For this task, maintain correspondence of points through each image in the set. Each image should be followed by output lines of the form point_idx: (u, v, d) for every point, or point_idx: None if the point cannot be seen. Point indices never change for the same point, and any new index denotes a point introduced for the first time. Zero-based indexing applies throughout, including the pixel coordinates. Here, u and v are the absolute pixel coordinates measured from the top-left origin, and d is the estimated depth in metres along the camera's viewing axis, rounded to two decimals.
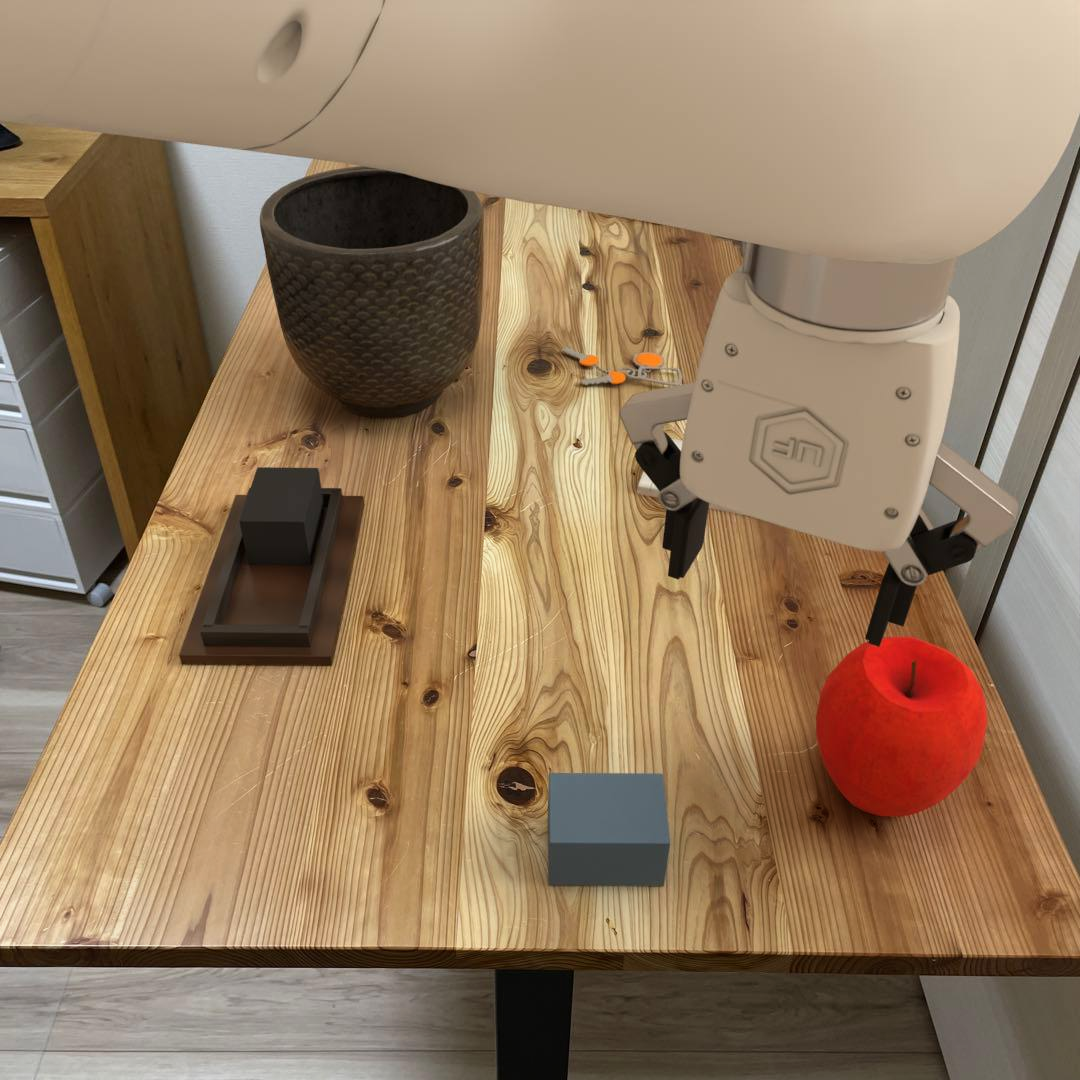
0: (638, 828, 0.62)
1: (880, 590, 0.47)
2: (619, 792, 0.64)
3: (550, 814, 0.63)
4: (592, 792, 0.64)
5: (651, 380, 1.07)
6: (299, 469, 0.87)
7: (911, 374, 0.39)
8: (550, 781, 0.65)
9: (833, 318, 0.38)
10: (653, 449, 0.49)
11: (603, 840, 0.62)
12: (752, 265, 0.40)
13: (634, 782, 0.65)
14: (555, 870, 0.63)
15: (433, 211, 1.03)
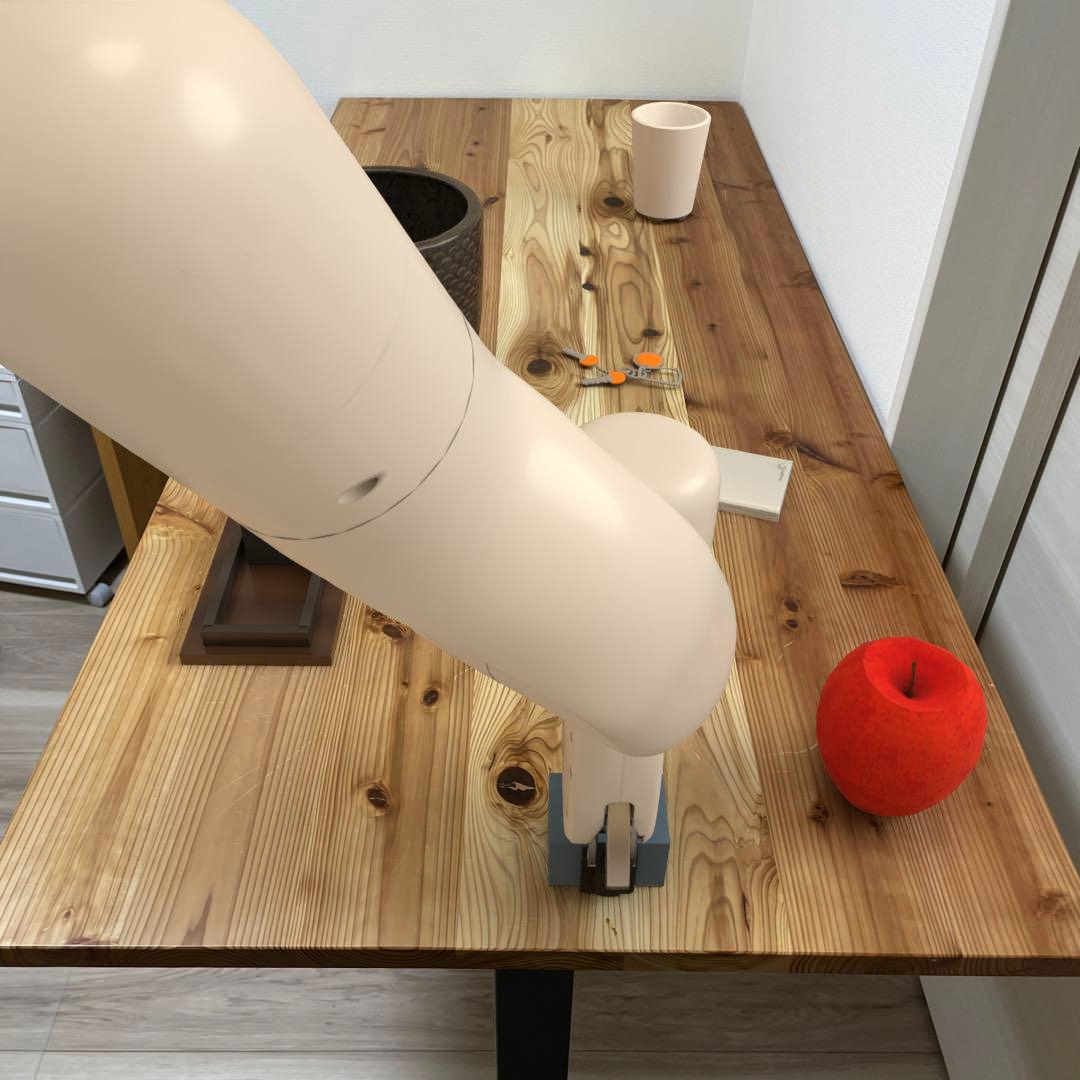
0: None
1: None
2: None
3: (550, 814, 0.63)
4: None
5: (651, 380, 1.07)
6: None
7: (573, 727, 0.54)
8: (550, 781, 0.65)
9: None
10: None
11: (603, 840, 0.62)
12: None
13: None
14: (555, 870, 0.63)
15: (433, 211, 1.03)
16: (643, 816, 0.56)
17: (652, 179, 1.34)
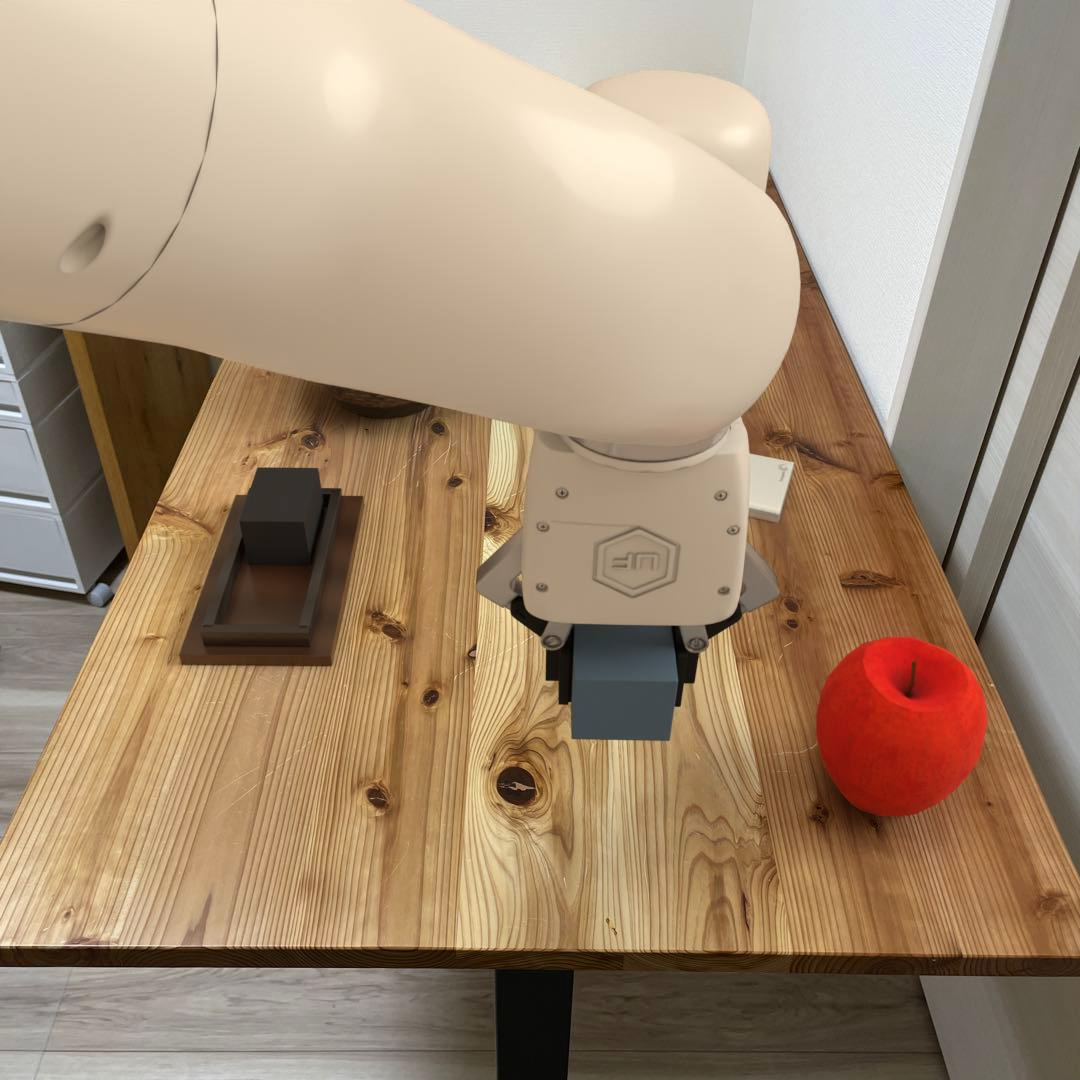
0: None
1: None
2: None
3: (637, 679, 0.51)
4: (603, 641, 0.53)
5: None
6: (299, 469, 0.87)
7: (725, 479, 0.45)
8: (588, 678, 0.51)
9: (660, 454, 0.42)
10: None
11: (669, 634, 0.54)
12: None
13: None
14: None
15: None
16: None
17: None
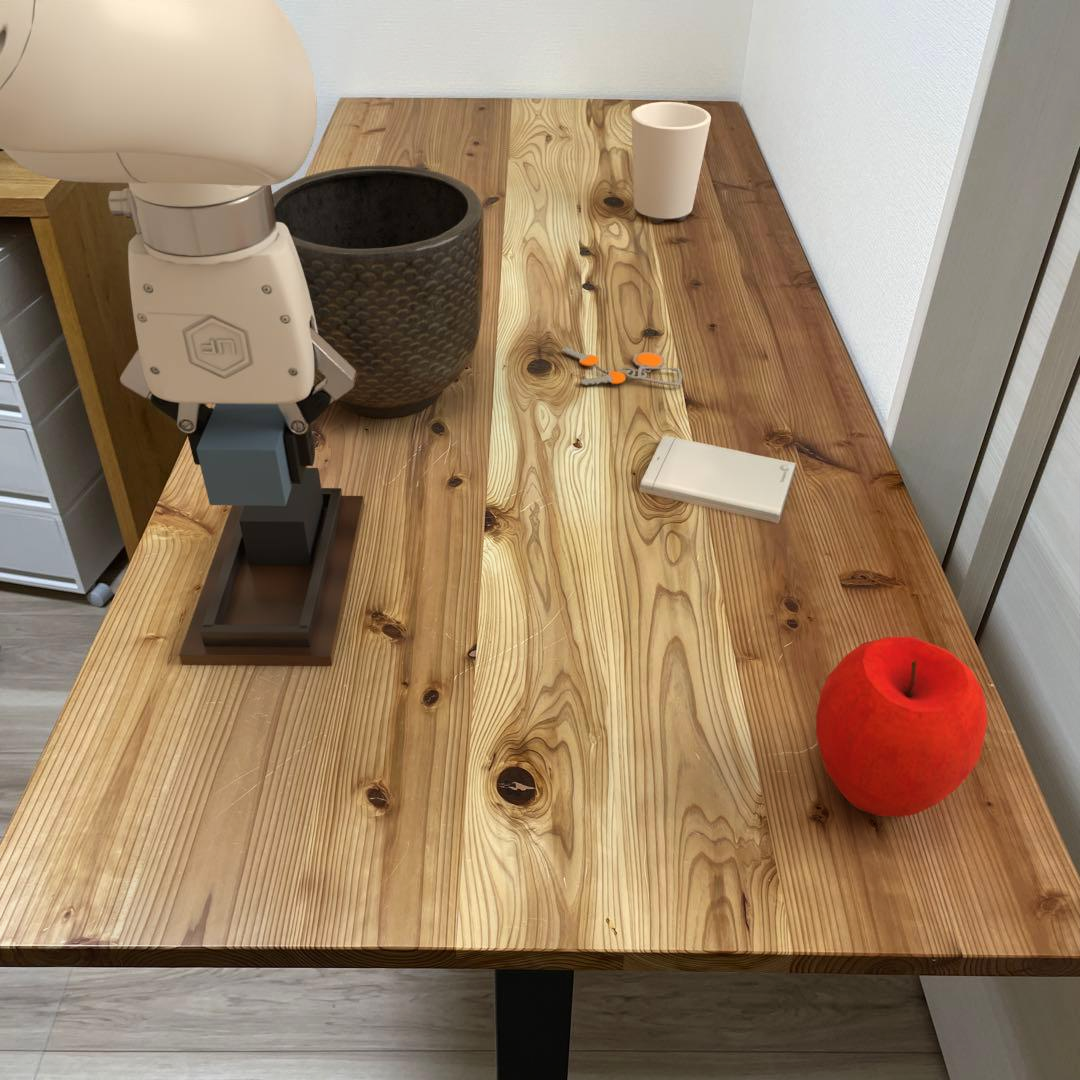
0: (275, 404, 0.71)
1: (284, 443, 0.69)
2: (234, 411, 0.70)
3: (245, 449, 0.67)
4: (228, 425, 0.69)
5: (651, 380, 1.07)
6: None
7: (266, 276, 0.60)
8: (207, 448, 0.67)
9: (200, 249, 0.58)
10: None
11: (282, 421, 0.69)
12: (140, 227, 0.59)
13: None
14: (283, 482, 0.69)
15: (433, 211, 1.03)
16: (315, 326, 0.66)
17: (652, 179, 1.34)
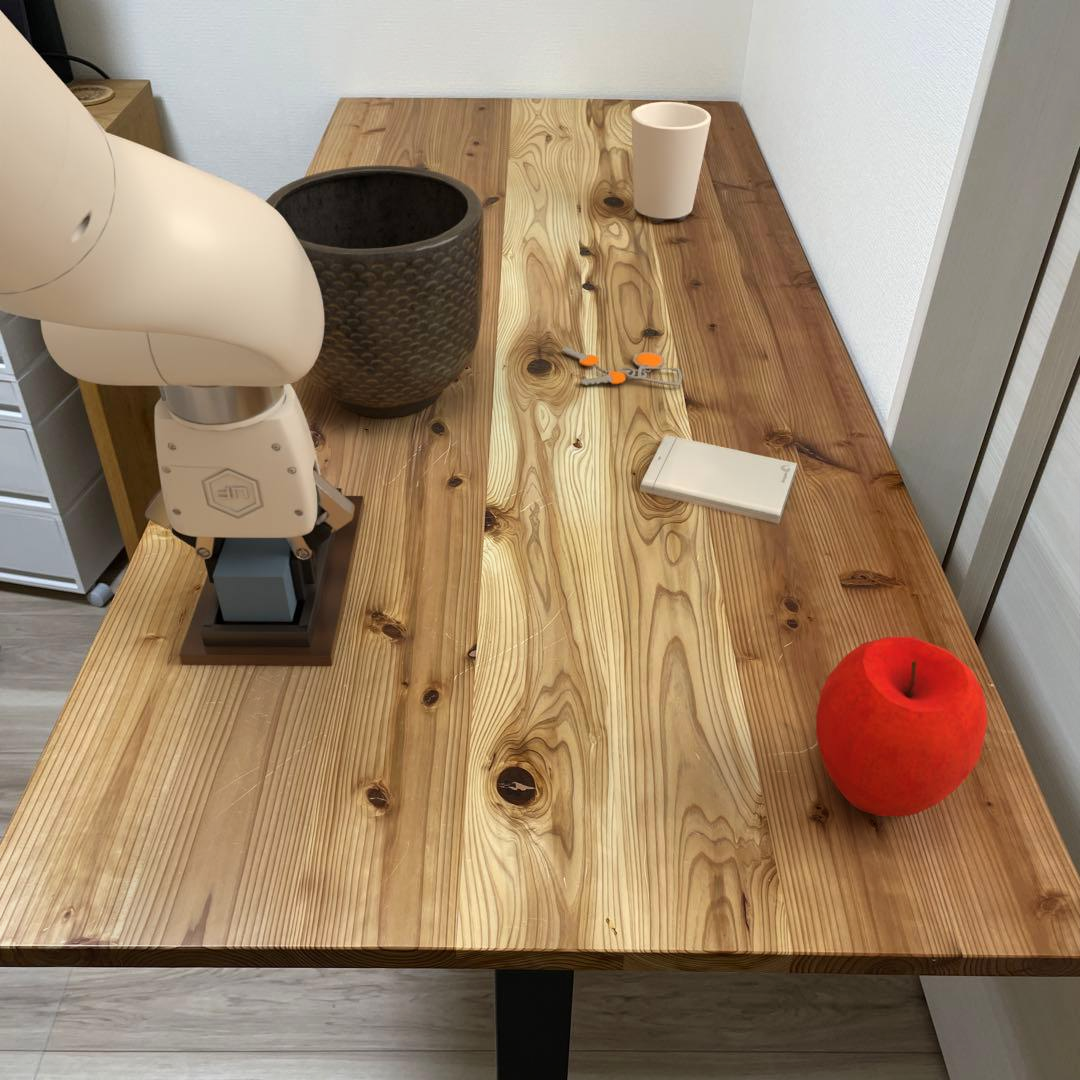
0: None
1: (290, 567, 0.77)
2: None
3: (256, 575, 0.75)
4: (241, 552, 0.77)
5: (651, 380, 1.07)
6: None
7: (275, 436, 0.69)
8: (222, 575, 0.75)
9: (218, 419, 0.66)
10: None
11: (288, 547, 0.78)
12: (165, 397, 0.67)
13: None
14: (290, 601, 0.77)
15: (433, 211, 1.03)
16: (318, 467, 0.75)
17: (652, 179, 1.34)
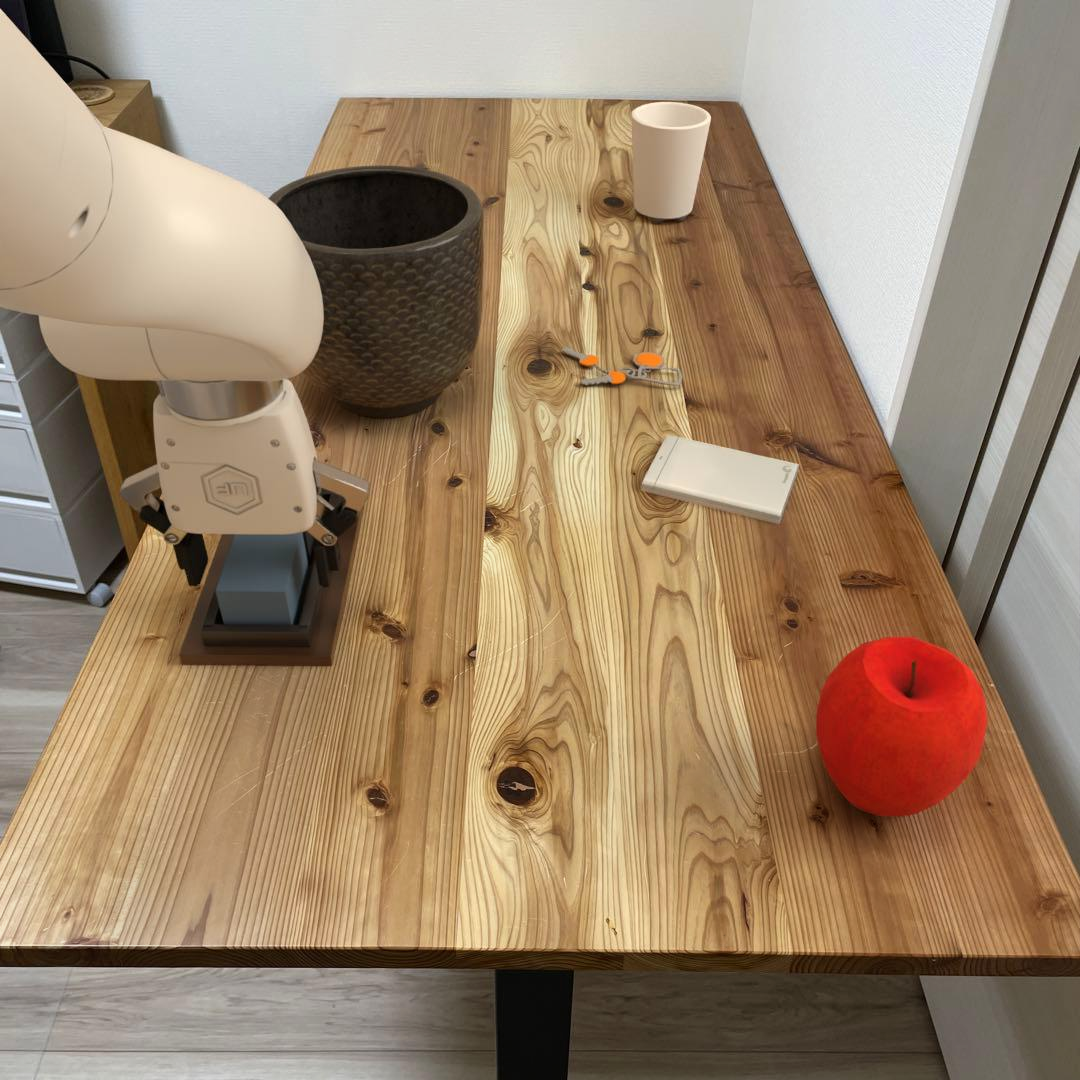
0: (284, 544, 0.80)
1: (315, 554, 0.77)
2: (248, 551, 0.79)
3: (258, 590, 0.76)
4: (243, 566, 0.78)
5: (651, 380, 1.07)
6: None
7: (274, 432, 0.69)
8: (225, 589, 0.76)
9: (217, 415, 0.66)
10: (150, 510, 0.75)
11: (290, 562, 0.78)
12: (164, 393, 0.67)
13: (241, 543, 0.80)
14: (292, 615, 0.78)
15: (433, 211, 1.03)
16: None
17: (652, 179, 1.34)
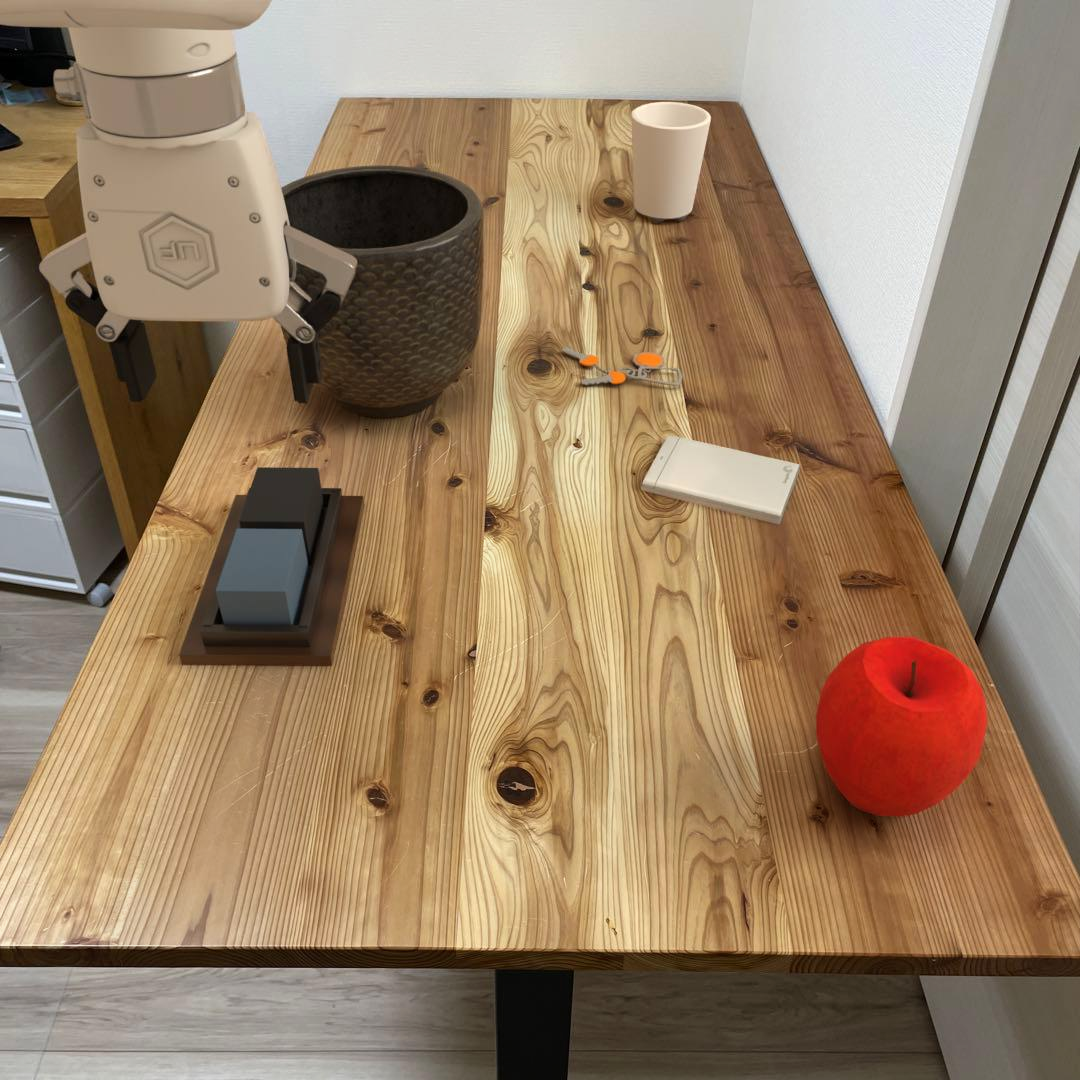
0: (284, 544, 0.80)
1: (288, 354, 0.61)
2: (248, 551, 0.79)
3: (258, 590, 0.76)
4: (243, 566, 0.78)
5: (651, 380, 1.07)
6: (299, 469, 0.87)
7: (232, 165, 0.53)
8: (225, 589, 0.76)
9: (157, 130, 0.51)
10: (78, 293, 0.59)
11: (290, 562, 0.78)
12: (89, 107, 0.52)
13: (241, 543, 0.80)
14: (292, 615, 0.78)
15: (433, 211, 1.03)
16: None
17: (652, 179, 1.34)
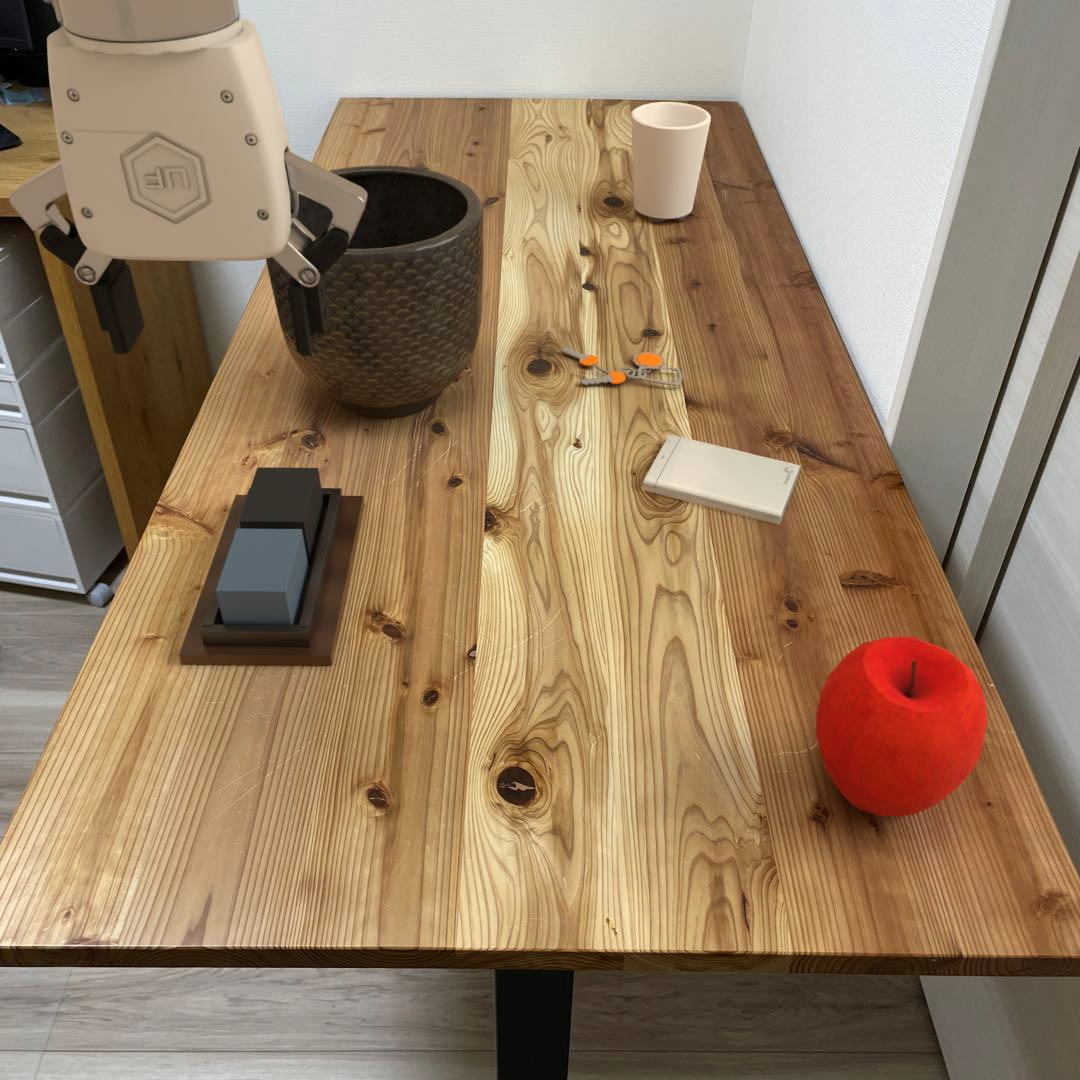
0: (284, 544, 0.80)
1: (290, 300, 0.54)
2: (248, 551, 0.79)
3: (258, 590, 0.76)
4: (243, 566, 0.78)
5: (651, 380, 1.07)
6: (299, 469, 0.87)
7: (225, 77, 0.46)
8: (225, 589, 0.76)
9: (137, 32, 0.44)
10: (54, 229, 0.53)
11: (290, 562, 0.78)
12: (60, 8, 0.45)
13: (241, 543, 0.80)
14: (292, 615, 0.78)
15: (433, 211, 1.03)
16: None
17: (652, 179, 1.34)
